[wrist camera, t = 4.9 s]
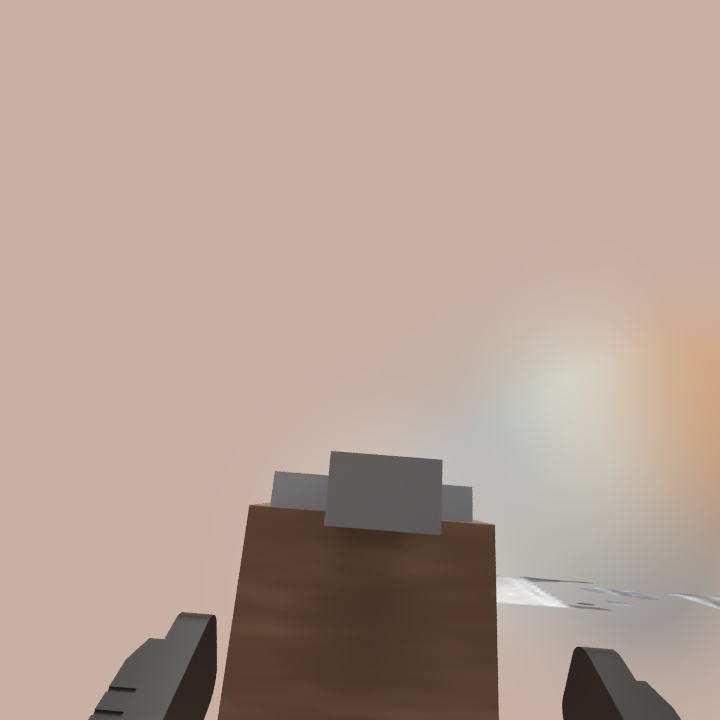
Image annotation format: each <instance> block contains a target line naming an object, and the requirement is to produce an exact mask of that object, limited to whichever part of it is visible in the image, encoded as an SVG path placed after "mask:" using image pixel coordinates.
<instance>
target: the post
mask: <svg viewBox="0 0 720 720" xmlns="http://www.w3.org/2000/svg"><path fill="white" fill-rule="evenodd" d="M270 504H271V503H263V504H255V505H250V506H249V512H248V519H247V526H246V533H245V539H244V545H243V552H242V559H241V566H240V573H239V580H238V586H237V593H236V600H235V607H234V614H233V620H232V627H231V633H230V640H229V647H228V653H227V660H226V667H225V674H224V681H223V687H222V694H221V701H220V707H219V715H218V720H499V712H498V709H499V708H498V661H497V660H498V658H497V609H496V560H495V559H496V558H495V525H492V524H488V523H484V522H480V521H475V520H472V522H461V521H449V520H441V535H433V534H420V533H408V532H396V531H384V530H371V529H359V528H347V527H335V526H324V520H325V510H313V509H301V508H289V507H276V506H270Z"/></svg>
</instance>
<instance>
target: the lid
mask: <svg viewBox="0 0 720 720" xmlns="http://www.w3.org/2000/svg"><path fill="white" fill-rule="evenodd" d="M270 506H276V507H289V508H301V509H313V510H325V520H324V526H335V527H347V528H359V529H371V530H384V531H396V532H408V533H420V534H433V535H441V520H449V521H461V522H472V487H465V486H452V485H442V460H437V459H424V458H411V457H398V456H386V455H374V454H360V453H348V452H336V451H331V457H330V468H329V476H327V475H315V474H301V473H290V472H277V471H275V475H274V482H273V490H272V497H271V504H270Z"/></svg>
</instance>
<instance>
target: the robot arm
mask: <svg viewBox="0 0 720 720" xmlns="http://www.w3.org/2000/svg"><path fill="white" fill-rule="evenodd" d="M216 624H217V622H216V616H215V615H209V614H197V613H185V612H182V613H180V614H179V615H178V616H177V618H176V619H175V621H174V623H173V625H172V627H171V628H170V630H169V632H168V634H167V636H166V637H165V639H153V638H149V639H148V640H147V641H146V642H145V643H144V644H143V645H141V646H140V647H139V648H138V649H137V650H136V651H135V652H134V653H133V654H132V655H131V656H129V657H128V658H127V659H126V660H125V662H124V664H123V665H122V667H121V668H120V670H119V672H118V673H117V675H116V677H115V678H114V680H113V681H112V683H111V684H110V686H109V690H108V692H105V694H104V696H103V697H102V699H101V700H100V702H99V703H98V705H97V707H96V708H95V712H94V714H93V715H91V716H90V718H89V719H88V720H204V718H205V715H206V712H207V710H208V707H209V704H210V701H211V698H212V694H213V690H214V686H215V680H216V673H217V627H216V626H217V625H216ZM562 710H563V719H564V720H681V719H680V717H679V716H678V715H677V713H676V712H675V710H674V709H673V707H672V706H671V705H670V704H669V703H667V702H666V701H665V700H664V699H663V698H662V697H661V696H660V695H659V694H658V693H657V692H656V691H655V690H654V689H653V688H651V686H650V685H649V684H648V683H647V682H646V681H636V680H635V678H634V677H633V675H632V673H631V672H630V670H629V669H628V667H627V666H626V664H625V662H624V661H623V659H622V658H621V657H620V655H619V654H618V653H617V652H616V651H614V650H612V649H601V648H589V647H576V648H575V649H574V652H573V655H572V660H571V664H570V669H569V673H568V678H567V682H566V687H565V691H564V695H563V702H562Z"/></svg>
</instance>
